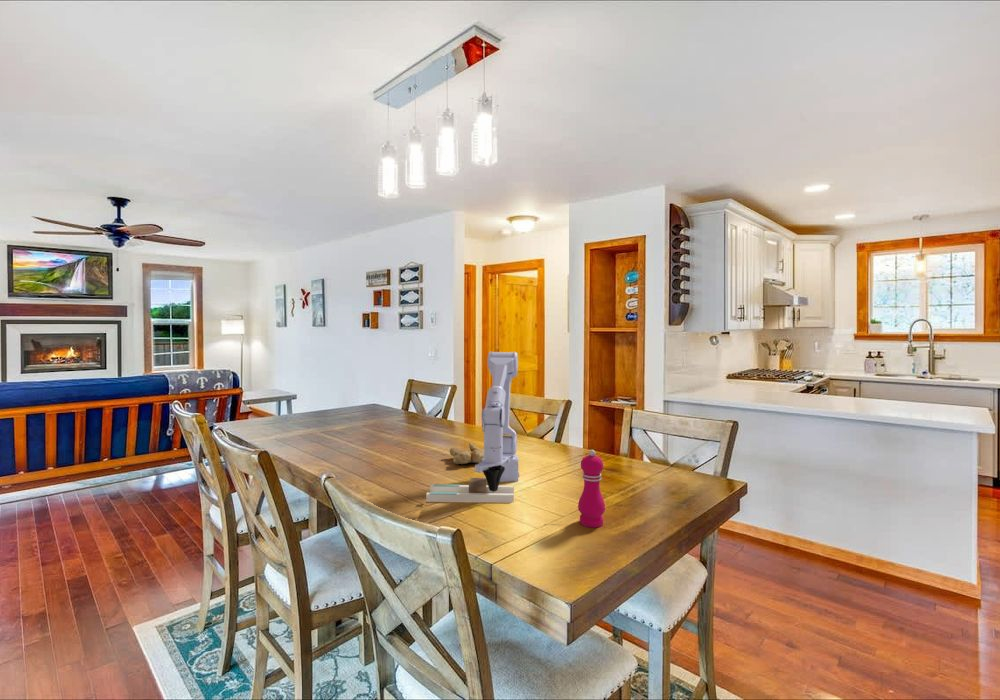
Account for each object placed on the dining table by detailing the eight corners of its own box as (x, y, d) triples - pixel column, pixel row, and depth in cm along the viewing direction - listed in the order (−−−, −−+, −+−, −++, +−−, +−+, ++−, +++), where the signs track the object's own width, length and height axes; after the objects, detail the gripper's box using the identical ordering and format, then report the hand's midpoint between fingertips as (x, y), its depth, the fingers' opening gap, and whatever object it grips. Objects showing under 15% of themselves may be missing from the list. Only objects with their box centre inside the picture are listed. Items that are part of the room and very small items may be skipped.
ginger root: (490, 465, 186) (485, 444, 186) (449, 475, 186) (443, 454, 186) (492, 455, 202) (487, 436, 202) (453, 465, 202) (449, 445, 202)
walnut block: (486, 493, 156) (486, 477, 156) (485, 499, 151) (485, 483, 151) (470, 493, 156) (470, 477, 156) (468, 498, 151) (468, 482, 151)
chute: (513, 494, 159) (513, 484, 158) (513, 505, 149) (513, 495, 148) (431, 493, 159) (431, 483, 159) (425, 504, 149) (425, 494, 149)
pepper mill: (586, 515, 141) (587, 445, 140) (609, 522, 137) (610, 449, 135) (572, 523, 136) (573, 450, 134) (596, 530, 131) (597, 454, 130)
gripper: (498, 440, 161) (498, 481, 162) (467, 448, 150) (467, 493, 150) (515, 443, 157) (515, 486, 157) (485, 452, 145) (485, 498, 146)
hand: (493, 490), depth 154 cm, fingers closed
